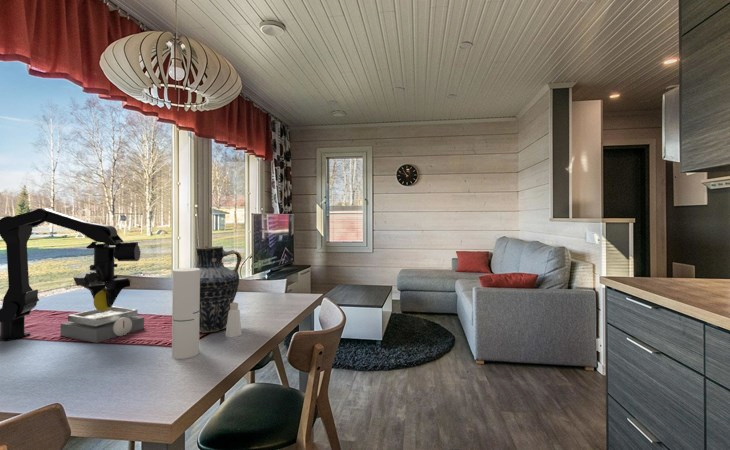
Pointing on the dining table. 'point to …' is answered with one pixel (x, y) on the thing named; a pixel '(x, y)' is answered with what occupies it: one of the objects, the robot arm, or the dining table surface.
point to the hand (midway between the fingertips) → (103, 306)
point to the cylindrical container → (185, 312)
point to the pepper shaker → (233, 321)
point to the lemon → (101, 301)
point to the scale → (102, 329)
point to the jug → (216, 287)
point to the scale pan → (102, 316)
